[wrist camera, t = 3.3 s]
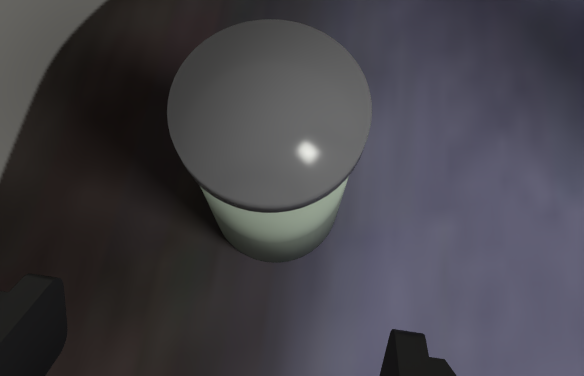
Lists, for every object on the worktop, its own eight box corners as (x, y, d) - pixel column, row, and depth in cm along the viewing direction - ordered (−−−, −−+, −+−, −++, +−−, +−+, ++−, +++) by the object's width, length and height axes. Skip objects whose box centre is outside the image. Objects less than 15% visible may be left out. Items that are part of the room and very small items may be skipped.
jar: (304, 121, 28) (313, -8, 18) (365, 229, 26) (410, 147, 17) (189, 174, 27) (136, 65, 17) (244, 290, 25) (218, 239, 16)
